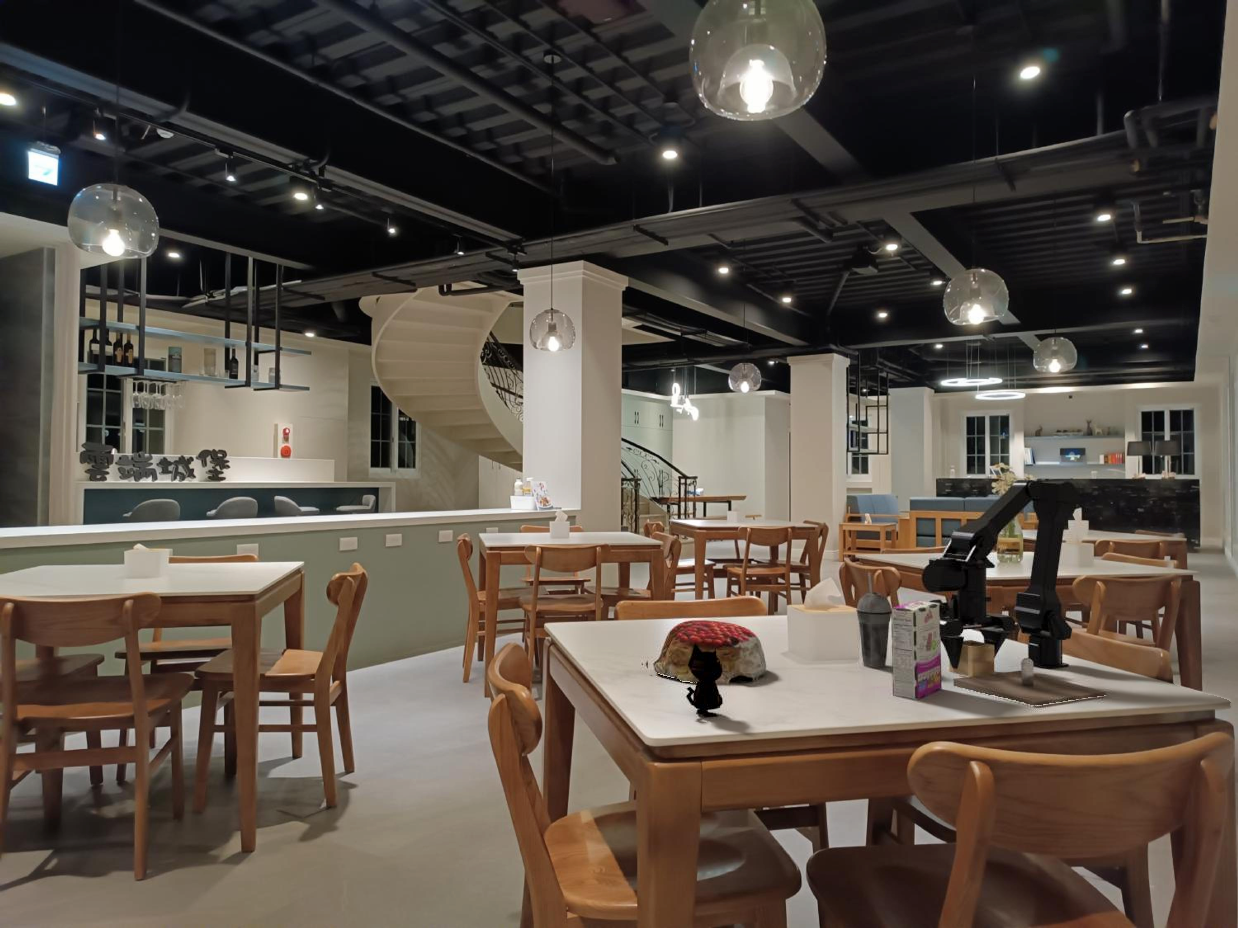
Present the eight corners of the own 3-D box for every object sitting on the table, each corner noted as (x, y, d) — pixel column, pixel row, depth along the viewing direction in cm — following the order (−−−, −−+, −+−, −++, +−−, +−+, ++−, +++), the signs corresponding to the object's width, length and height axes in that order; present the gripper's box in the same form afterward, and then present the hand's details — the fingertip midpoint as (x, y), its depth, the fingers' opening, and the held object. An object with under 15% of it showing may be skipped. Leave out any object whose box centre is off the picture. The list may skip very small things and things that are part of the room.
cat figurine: (734, 720, 133) (734, 647, 133) (700, 727, 130) (700, 651, 130) (709, 710, 139) (709, 640, 139) (675, 715, 136) (676, 644, 136)
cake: (629, 666, 173) (629, 619, 173) (724, 655, 184) (724, 611, 184) (688, 691, 152) (687, 638, 153) (790, 677, 164) (790, 627, 164)
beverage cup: (899, 667, 171) (899, 572, 172) (871, 670, 168) (871, 574, 169) (876, 660, 178) (876, 569, 178) (849, 663, 175) (849, 570, 176)
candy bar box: (916, 685, 157) (916, 600, 157) (942, 690, 153) (941, 602, 153) (890, 696, 148) (889, 606, 149) (917, 701, 145) (916, 609, 145)
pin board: (1021, 677, 163) (1021, 645, 163) (1106, 700, 146) (1106, 663, 146) (953, 686, 156) (953, 652, 156) (1034, 711, 139) (1034, 672, 139)
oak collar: (971, 668, 171) (971, 639, 171) (994, 674, 165) (994, 645, 165) (949, 671, 168) (949, 642, 168) (972, 677, 163) (972, 647, 163)
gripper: (974, 583, 178) (974, 655, 178) (907, 587, 171) (908, 662, 170) (1016, 589, 168) (1017, 665, 168) (948, 594, 161) (948, 673, 160)
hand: (971, 666), depth 167 cm, fingers open, 9 cm apart
